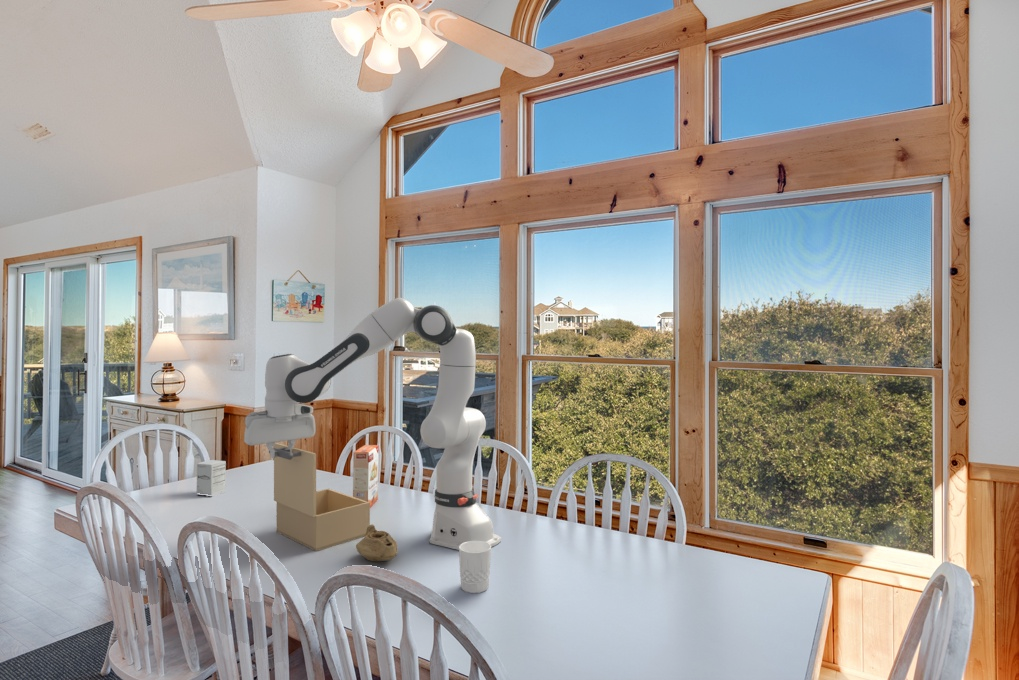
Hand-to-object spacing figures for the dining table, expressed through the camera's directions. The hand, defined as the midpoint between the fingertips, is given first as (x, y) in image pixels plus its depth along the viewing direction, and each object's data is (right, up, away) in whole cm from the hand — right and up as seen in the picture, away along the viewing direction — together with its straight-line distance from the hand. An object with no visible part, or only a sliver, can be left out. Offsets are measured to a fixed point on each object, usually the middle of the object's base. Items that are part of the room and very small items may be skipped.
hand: (281, 456), depth 163 cm
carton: (+9, -26, +10) cm, 29 cm away
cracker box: (+15, -26, +40) cm, 50 cm away
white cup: (+59, -27, -27) cm, 70 cm away
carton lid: (+3, -7, +3) cm, 8 cm away
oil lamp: (+31, -27, -10) cm, 42 cm away
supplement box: (-49, -26, +53) cm, 77 cm away
